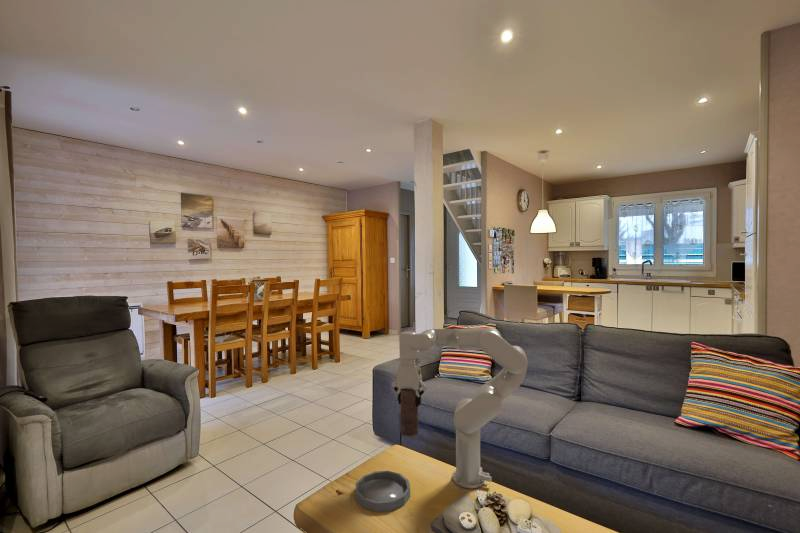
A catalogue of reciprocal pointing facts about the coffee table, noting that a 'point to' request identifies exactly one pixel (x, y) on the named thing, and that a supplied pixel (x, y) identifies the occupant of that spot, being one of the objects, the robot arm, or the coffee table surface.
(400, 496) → the round tray
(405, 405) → the mottled brown cylinder
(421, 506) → the coffee table surface
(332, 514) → the coffee table surface
